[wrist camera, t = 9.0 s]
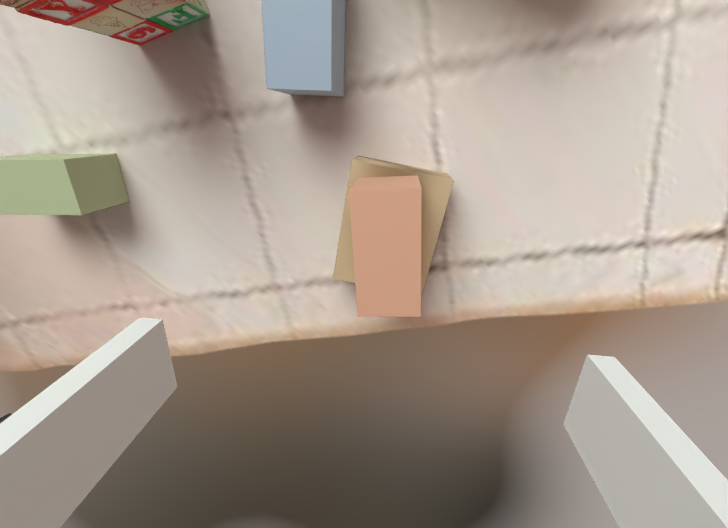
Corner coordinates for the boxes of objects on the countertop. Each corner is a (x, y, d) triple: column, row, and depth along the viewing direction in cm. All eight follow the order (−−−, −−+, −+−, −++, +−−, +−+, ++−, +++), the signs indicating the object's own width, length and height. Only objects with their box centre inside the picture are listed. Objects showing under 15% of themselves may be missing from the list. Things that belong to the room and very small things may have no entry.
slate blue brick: (344, 96, 25) (331, 90, 21) (291, 94, 26) (266, 88, 21) (346, -41, 22) (331, -83, 18) (286, -41, 23) (256, -82, 18)
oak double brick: (341, 259, 31) (332, 278, 27) (358, 155, 27) (352, 160, 23) (419, 275, 30) (421, 297, 27) (446, 173, 27) (453, 180, 23)
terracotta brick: (417, 282, 26) (420, 316, 22) (365, 283, 27) (357, 316, 22) (417, 175, 23) (421, 188, 19) (359, 177, 24) (348, 191, 19)
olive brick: (48, 200, 31) (-14, 214, 27) (31, 154, 30) (-37, 160, 25) (130, 201, 30) (81, 215, 26) (117, 153, 29) (63, 159, 24)
